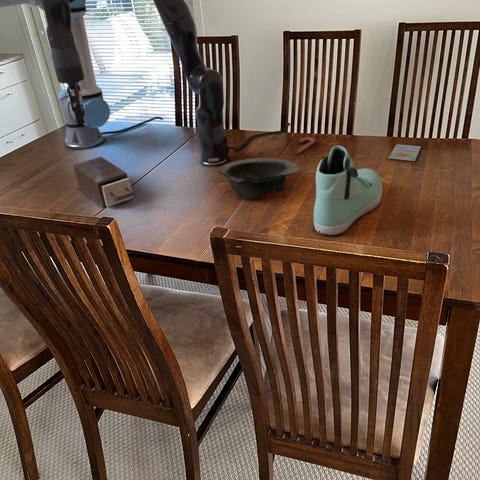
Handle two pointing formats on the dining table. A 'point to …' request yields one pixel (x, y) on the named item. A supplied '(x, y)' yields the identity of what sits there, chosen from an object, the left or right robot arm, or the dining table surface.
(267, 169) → the stone bowl
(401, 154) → the baking ingredient package
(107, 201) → the drawer
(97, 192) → the cabinet
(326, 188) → the sneaker
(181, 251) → the dining table surface
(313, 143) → the candy cane
